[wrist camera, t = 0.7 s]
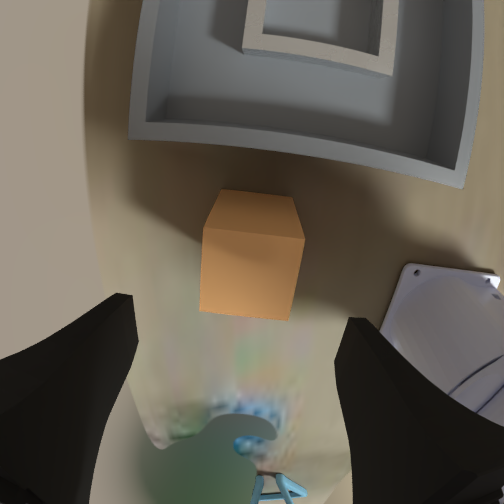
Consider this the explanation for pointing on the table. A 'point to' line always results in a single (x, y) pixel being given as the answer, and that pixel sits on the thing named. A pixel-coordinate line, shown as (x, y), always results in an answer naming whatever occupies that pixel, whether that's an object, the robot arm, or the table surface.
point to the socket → (369, 64)
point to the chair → (283, 486)
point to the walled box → (313, 83)
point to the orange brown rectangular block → (251, 255)
